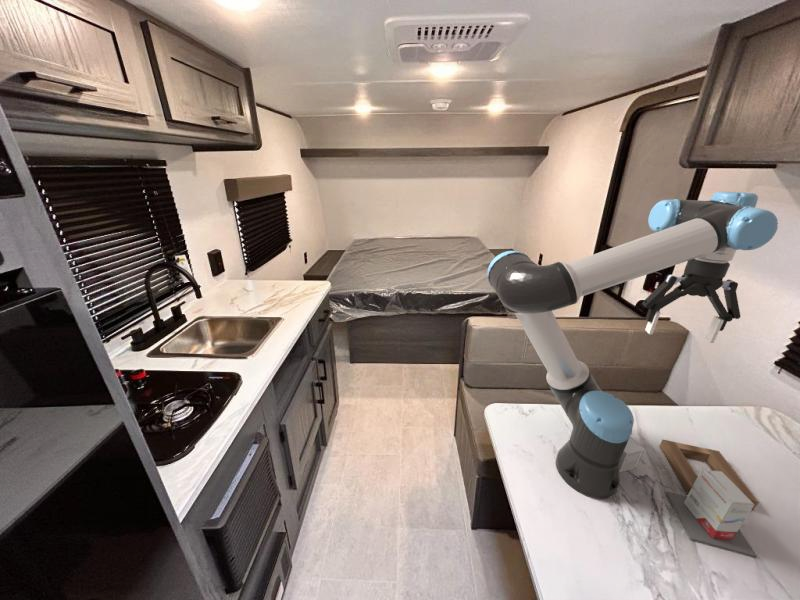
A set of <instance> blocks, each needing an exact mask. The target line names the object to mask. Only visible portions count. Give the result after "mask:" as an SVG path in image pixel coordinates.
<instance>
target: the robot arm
mask: <svg viewBox="0 0 800 600" xmlns="http://www.w3.org/2000/svg"><path fill="white" fill-rule="evenodd" d="M758 200H759V197H758V195H757V194H756V193H753V192H743V191H716V192H714V193H713V195H712V197H711V198H710V200H699V199H698V200H694V199H692V200H691V199H676V198H674V199H662V200H660V201H658V202H656V204H655V205H654V206H653V207H652V208H651V210H650V212H649V215H648V219H647V221H648V226H649V229H650V230H651V231H653V233H651V234H648V235H644V236H642V237H640V238H636V239H634V240H631V241H628V242H626V243H623V244H622V243H621V244H619V245H617V246H614V247H611V248H608V249H605V250H602V251H599V252H597V253H594V254H591V255H587V256H585V257H583V258H580V259H577V260H574V261H571V262H568V263H565V262H563V261H556V262H554V263H551V264H547V265H538V264H537V263H536V262H534V261H533V260H532V259H531V258H530V257H529V256H528V255H527V254H525V253H524V252H520V251H517V250H508V251H504V252H501V253H499V254H497V255H496V256H495V257H494V258H493V259H492V260H491V262H490V264H489V265H488V268H487V272H486V273H487V281H488V283H489V285H490V286H491V287H492V288H493V290H494V291H495V293H496V295H497V297H498V298H499V300H500V303H501V304H502V305H503V307H504V309H505V310H506V312H508V313H510V314H513V315H515V317H516V318H517V320H518V321H519V324H520V325H521V327H522V329H523V330H524V332H525V334H526V335H527V337H528V339H529V341H530V343H531V345H532V346H533V348H534V351H536V353H537V356H538V357H539V359H540V361H541V362H542V364H543V365H544V367H545V370H546V371H547V373H546V376H545V377H546V382H547V383H548V384H547V385H548V386H549V387H550V390H551V392H552V394H553V395H554V397H555V398H556V399H557V402H558V403H559V404H560V406H561V408H562V409H563V410H562V411H564V413H565V414H566V416H567V418H568V420H569V422H570V423H571V425H572V430H571V433H570V436H569V440H568V441H567V442H565V444H564V445H562V447H561V448H560V449H559V450H558V452H557V454H556V458H555V467H556V470H557V471H558V472H557V473H558V474H559V476H560V477H561V478H562V479H563V481H564V482H565V483H566V484H568V485H569V486H570V487H571V488H572V489H574V490H575V491H576V492H579V493H581V494H583V495H585V496H587V497H591V498H593V499H599V500H600V499H601V500H602V499H609V498H611V497H614V496H615V495H616V494H617V492H618V489H619V487H620V483H621V482H620V481H621V476H620V472H619V466H618V463H619V461H620V458H621V456H622V454H623V451H624V449H625V447H626V445H627V442H628V440H629V438H631V435H632V434H633V427H634V422H635V419H634V415H633V412H632V411H631V409H630V408H629V406H628V405H627V404H626V403H625V402H624V401H623V400H622V399H620V398H619V397H615V396H614V394H612V393H610V392H606V391H603V390H602V389H601V388H600V387H599V385H598V384H597V382H596V380H595V378H594V376H593V374H592V373H591V371H590V369H589V367H588V365H587V364H586V363H585V362H582V361H581V360H578V359H577V357H576V354H575V352H574V351H573V349H572V346H571V345H570V343H569V341H568V339H567V337H566V335H565V333H564V332H563V330H562V328H561V326H560V323H559V322H558V320H557V317H556V315H555V314H554V312H553V311H556V310H560V309H563V308H566V307H570V306H572V305H575V304H578V303H579V300H580V299H581V297H584V296H587V295H590V294H593V293H596V292H599V291H602V290H605V289H608V288H611V287H614V286H616V285H620V284H623V283H626V282H628V281H629V282H630V281H631V280H635V279H638V278H640V277H644V276H646V275H649V274H653V273H655V272H656V273H657V272H658V271H662V270H664V269H667V268H671V267H673V266H676V265H680V264H682V263H685V262H686V265H685V267H684V270H683V274H682V275H681V276H676V275H673V274H671V273H668V274H666V276H665V278H664V281H662V282H661V284H660V285H659V286H657V287H656V289H654V290H653V291H652V293H650V294H649V295H648V296H647V297H646V298H645V299H644V300H643V301H642V303H641V305H642V306H644V307H645V309H648V310H647V314H646V315H645V320H646V321H647V324H646V327H645V329H644V330H645V332H647V334H649V335H653V334H654V331H655V328H656V326H657V324H658V321H659V317H660V315H661V312H660V310H662V309H663V308H665V307H666V306H668V305H670V304H672V303H673V302H675V301H677V300H678V299H679V298H682V297H686V296H687V295H688V296H692V297H694V296H695V297H696V296H697V297H698V296H699V297H702V298H705V297H707V298H708V300H709V302H710V303H711V305H712V307H713V309H714V310H715V312H716V313H717V315H713V317H712V320H711V322H710V323H709V326H708V328H707V331H706V333H705V335H704V337H703V339H705V340H706V341H707V342H708V343H711V344H714V343H715V340H716V339H717V337H718V334H719V332H722V331H723V330H724V329H725V327H726V325H727V323H728V322H731V321H732V320H733V319H735V320H739V319H741V312H740V306H739V300H738V295H737V289H738V285H739V283H738V282H736V281H735V280H732V279H726V280H723V279H724V278H725V277H726V275H727V272H728V271H729V268H730V266H731V265H730V262H731V261H732V260H733V258H734V256H735V253H736V251H738V250H741V251H752V250H753V251H754V250H756V249H759V248H762V247H763V246H765V245H767V243H769V242H770V241H771V240H772V239H773V238H774V236H775V235H776V233H777V231H778V226H779V225H778V224H779V223H778V217H777V215H775V214H774V213H773V212H772V211H770V210H767V209H762V208H758V207H757V203H758ZM678 283H679V285H678V286H676V287H674V285H677V284H678ZM673 287H674V289H673V290H671V289H672V288H673ZM721 287H722V289H723V294H724V300H725V305H726V308H725V306H724V304H723V302H722V301H721V299H720V296H719V294H718V293H717V290H719V289H720V288H721ZM670 290H671V291H670Z"/></svg>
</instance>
